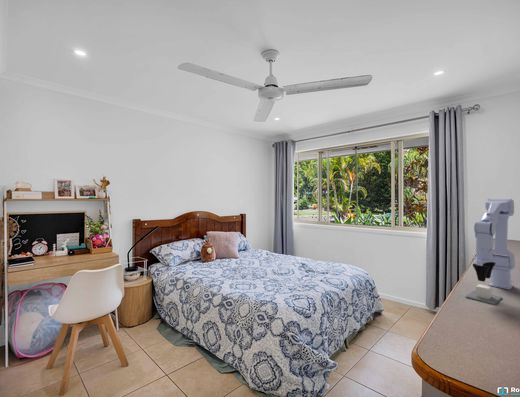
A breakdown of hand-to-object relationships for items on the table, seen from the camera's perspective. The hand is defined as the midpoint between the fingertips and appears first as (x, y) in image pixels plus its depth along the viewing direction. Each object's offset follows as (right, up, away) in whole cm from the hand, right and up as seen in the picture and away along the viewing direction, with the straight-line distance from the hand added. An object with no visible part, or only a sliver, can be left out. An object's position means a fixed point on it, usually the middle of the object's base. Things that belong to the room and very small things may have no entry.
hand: (484, 279), depth 120 cm
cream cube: (0, -8, 0) cm, 8 cm away
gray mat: (0, -8, 0) cm, 8 cm away
